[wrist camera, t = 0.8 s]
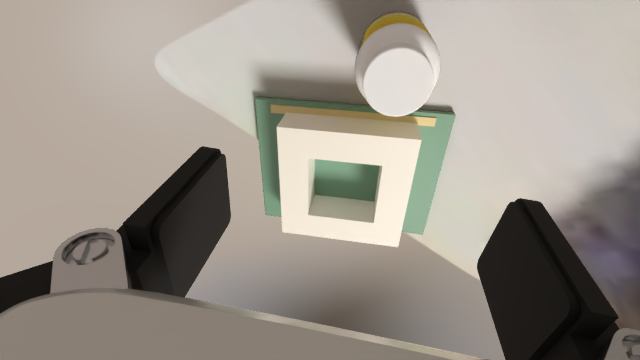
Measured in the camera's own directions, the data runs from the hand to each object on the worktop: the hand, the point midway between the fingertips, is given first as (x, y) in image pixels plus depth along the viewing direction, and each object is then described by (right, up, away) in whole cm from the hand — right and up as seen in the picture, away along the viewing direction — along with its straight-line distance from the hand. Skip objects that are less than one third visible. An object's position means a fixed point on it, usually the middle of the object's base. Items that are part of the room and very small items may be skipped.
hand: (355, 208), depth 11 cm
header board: (+2, +2, +22) cm, 22 cm away
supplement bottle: (+5, +12, +16) cm, 20 cm away
